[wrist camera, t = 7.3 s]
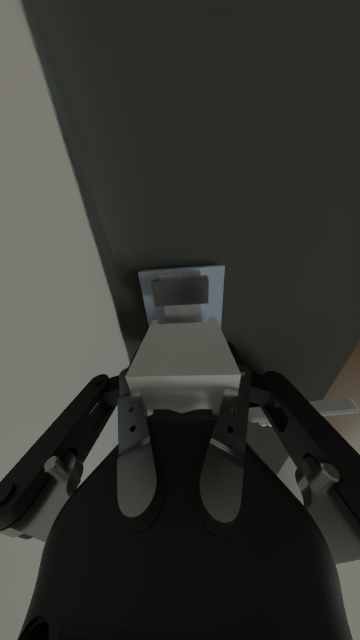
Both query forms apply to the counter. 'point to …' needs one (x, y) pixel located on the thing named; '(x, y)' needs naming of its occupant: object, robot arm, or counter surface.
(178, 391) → the block
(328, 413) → the light switch
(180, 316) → the din rail
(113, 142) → the counter surface
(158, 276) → the plate
